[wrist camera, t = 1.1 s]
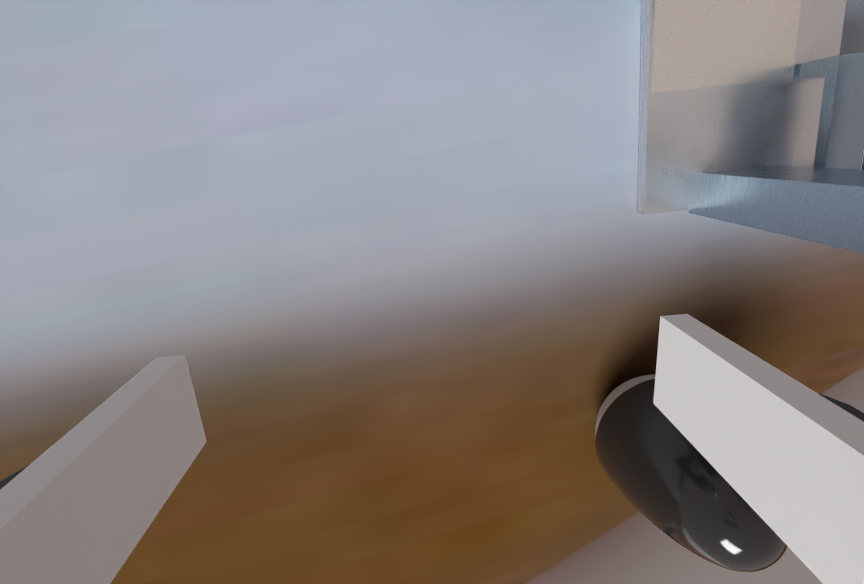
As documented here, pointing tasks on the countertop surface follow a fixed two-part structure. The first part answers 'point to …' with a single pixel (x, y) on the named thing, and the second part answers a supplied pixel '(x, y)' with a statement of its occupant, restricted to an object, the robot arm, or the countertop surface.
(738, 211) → the press
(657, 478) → the pump dispenser
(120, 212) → the countertop surface
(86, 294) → the countertop surface
